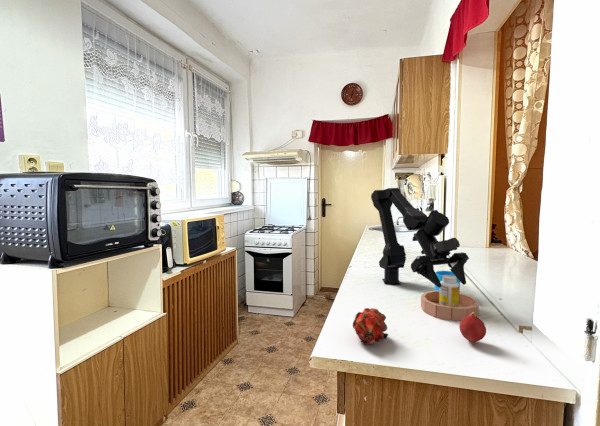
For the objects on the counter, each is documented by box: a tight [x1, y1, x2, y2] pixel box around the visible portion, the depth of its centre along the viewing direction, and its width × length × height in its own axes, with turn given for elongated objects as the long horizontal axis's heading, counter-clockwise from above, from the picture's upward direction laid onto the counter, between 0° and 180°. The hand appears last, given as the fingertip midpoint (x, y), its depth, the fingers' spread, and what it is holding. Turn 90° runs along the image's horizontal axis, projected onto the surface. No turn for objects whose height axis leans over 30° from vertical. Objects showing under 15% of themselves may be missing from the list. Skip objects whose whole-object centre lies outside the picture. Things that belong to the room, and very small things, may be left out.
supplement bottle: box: [439, 275, 459, 307], centre depth 100 cm, size 6×6×10 cm
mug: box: [434, 270, 461, 293], centre depth 115 cm, size 12×8×8 cm
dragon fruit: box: [352, 307, 389, 346], centre depth 82 cm, size 8×8×12 cm
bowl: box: [420, 290, 480, 322], centre depth 100 cm, size 16×16×4 cm
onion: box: [459, 312, 487, 345], centre depth 79 cm, size 6×6×8 cm
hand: (452, 285), depth 98 cm, fingers open, 9 cm apart
